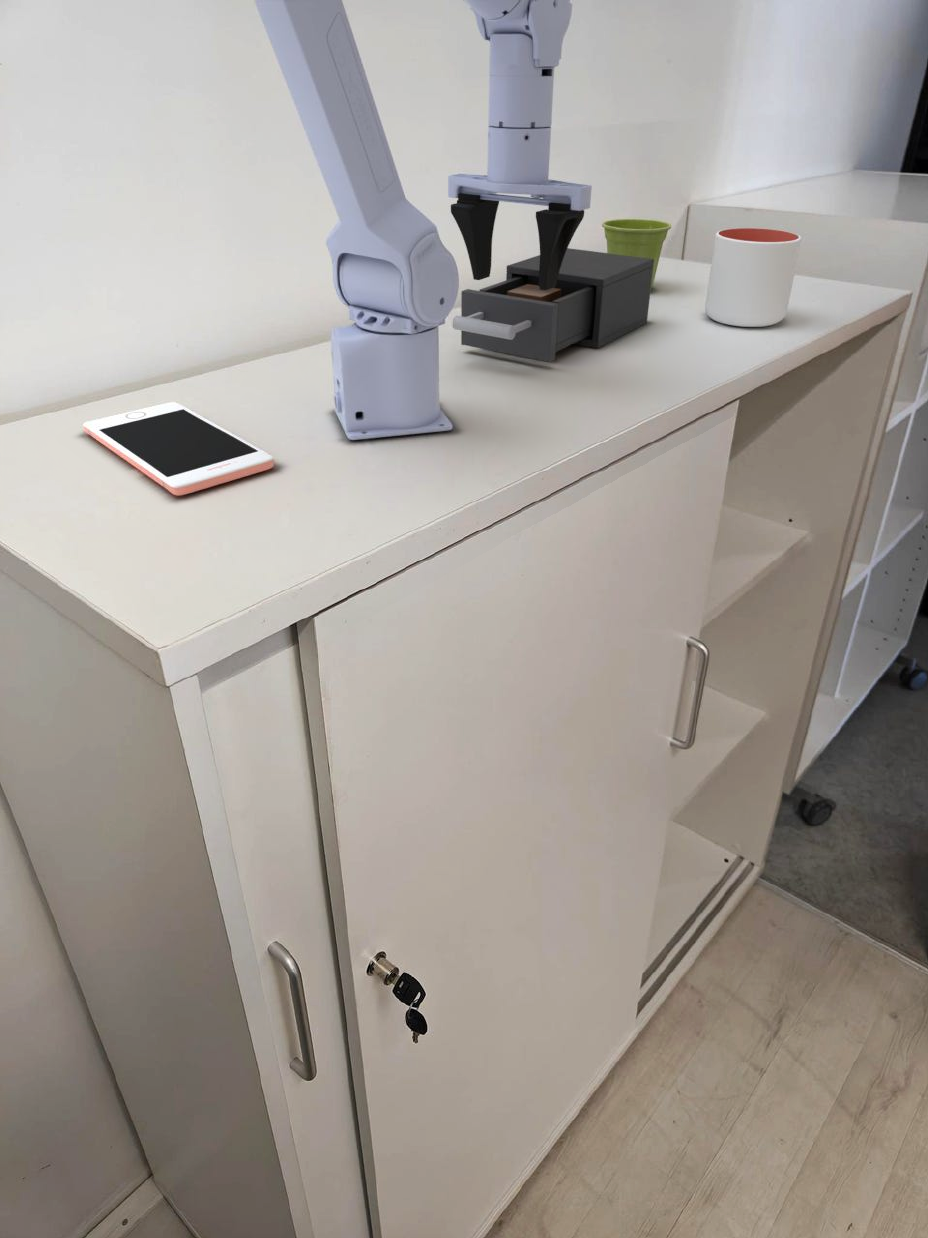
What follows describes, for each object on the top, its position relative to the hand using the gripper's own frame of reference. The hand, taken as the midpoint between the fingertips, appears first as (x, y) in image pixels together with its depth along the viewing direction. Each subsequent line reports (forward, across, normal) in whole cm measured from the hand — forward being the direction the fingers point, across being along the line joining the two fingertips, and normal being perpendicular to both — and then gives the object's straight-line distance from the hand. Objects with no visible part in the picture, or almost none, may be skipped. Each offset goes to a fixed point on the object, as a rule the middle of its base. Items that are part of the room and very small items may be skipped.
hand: (513, 283), depth 88 cm
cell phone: (+10, +13, +33) cm, 37 cm away
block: (+7, +3, -10) cm, 13 cm away
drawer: (+8, +3, -8) cm, 12 cm away
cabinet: (+9, +3, -21) cm, 23 cm away
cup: (+9, -12, -37) cm, 40 cm away
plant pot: (+9, +7, -44) cm, 45 cm away
